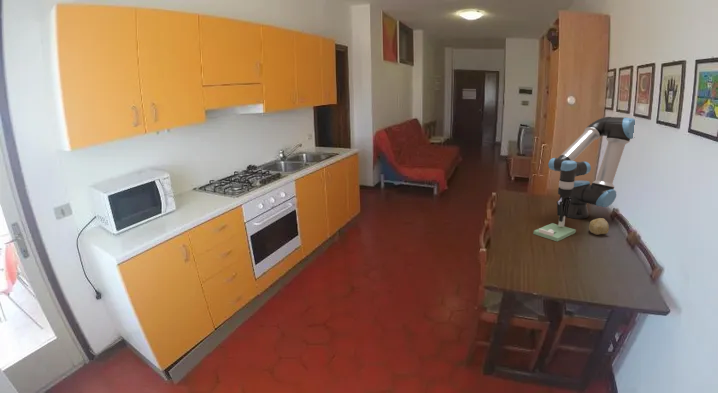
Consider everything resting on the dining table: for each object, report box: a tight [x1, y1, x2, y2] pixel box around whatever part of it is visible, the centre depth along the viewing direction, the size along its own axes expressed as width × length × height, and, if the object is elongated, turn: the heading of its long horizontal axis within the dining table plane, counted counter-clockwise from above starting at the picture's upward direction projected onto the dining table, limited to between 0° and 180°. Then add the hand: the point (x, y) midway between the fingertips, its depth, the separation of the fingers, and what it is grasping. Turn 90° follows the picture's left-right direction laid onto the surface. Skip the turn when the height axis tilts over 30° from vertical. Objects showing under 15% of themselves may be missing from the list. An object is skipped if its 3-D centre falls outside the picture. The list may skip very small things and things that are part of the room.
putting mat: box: [533, 222, 577, 242], centre depth 211 cm, size 20×14×4 cm
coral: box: [588, 217, 610, 236], centre depth 208 cm, size 10×10×10 cm
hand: (561, 226), depth 214 cm, fingers closed
